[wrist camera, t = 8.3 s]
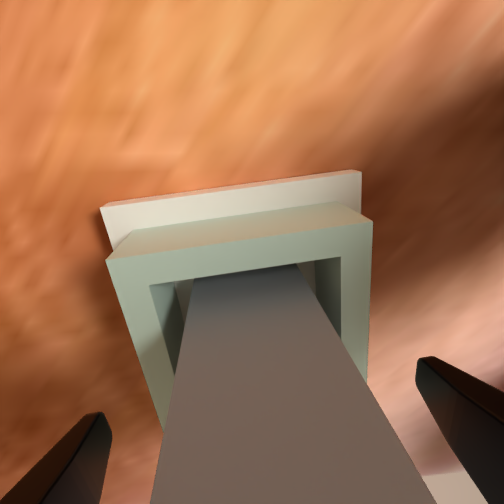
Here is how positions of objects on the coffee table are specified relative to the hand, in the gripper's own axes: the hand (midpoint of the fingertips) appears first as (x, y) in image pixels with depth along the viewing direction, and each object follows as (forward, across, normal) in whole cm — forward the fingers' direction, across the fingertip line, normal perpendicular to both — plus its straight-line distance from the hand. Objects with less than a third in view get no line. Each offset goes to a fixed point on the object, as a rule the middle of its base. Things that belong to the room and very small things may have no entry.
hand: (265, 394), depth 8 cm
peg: (+5, 0, 0) cm, 5 cm away
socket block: (+6, 0, 0) cm, 6 cm away
